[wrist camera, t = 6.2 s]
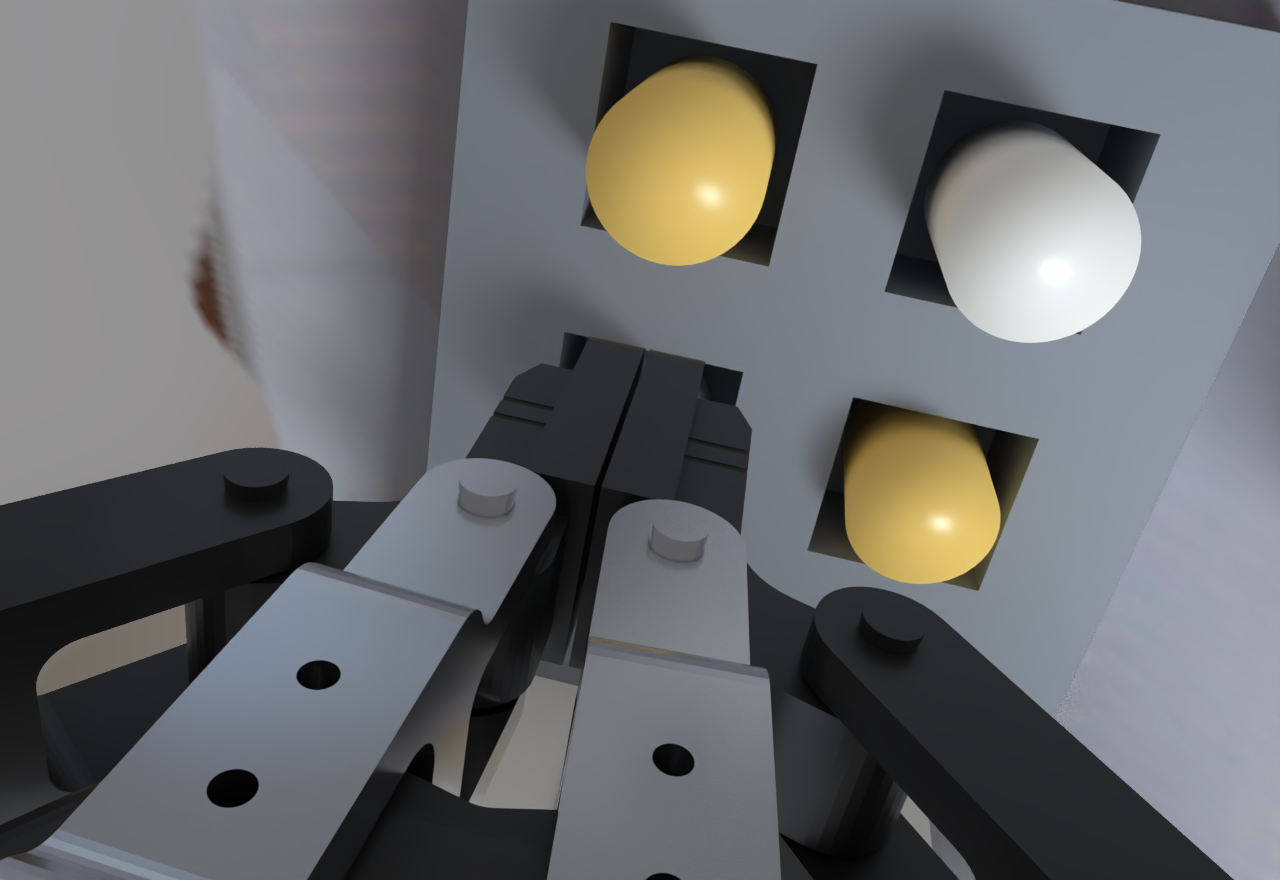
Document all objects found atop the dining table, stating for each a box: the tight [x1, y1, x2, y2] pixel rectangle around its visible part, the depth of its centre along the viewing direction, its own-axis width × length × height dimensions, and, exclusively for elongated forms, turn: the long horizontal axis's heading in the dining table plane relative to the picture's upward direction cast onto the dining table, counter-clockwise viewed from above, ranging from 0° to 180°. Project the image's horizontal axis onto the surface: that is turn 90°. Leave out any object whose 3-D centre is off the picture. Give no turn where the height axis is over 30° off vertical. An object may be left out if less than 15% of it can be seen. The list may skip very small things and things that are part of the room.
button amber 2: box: [586, 56, 777, 266], centre depth 25 cm, size 4×4×5 cm
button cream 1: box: [924, 121, 1141, 343], centre depth 24 cm, size 4×4×5 cm
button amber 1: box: [843, 399, 1000, 584], centre depth 30 cm, size 4×4×5 cm
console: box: [426, 0, 1280, 848], centre depth 28 cm, size 20×24×10 cm
